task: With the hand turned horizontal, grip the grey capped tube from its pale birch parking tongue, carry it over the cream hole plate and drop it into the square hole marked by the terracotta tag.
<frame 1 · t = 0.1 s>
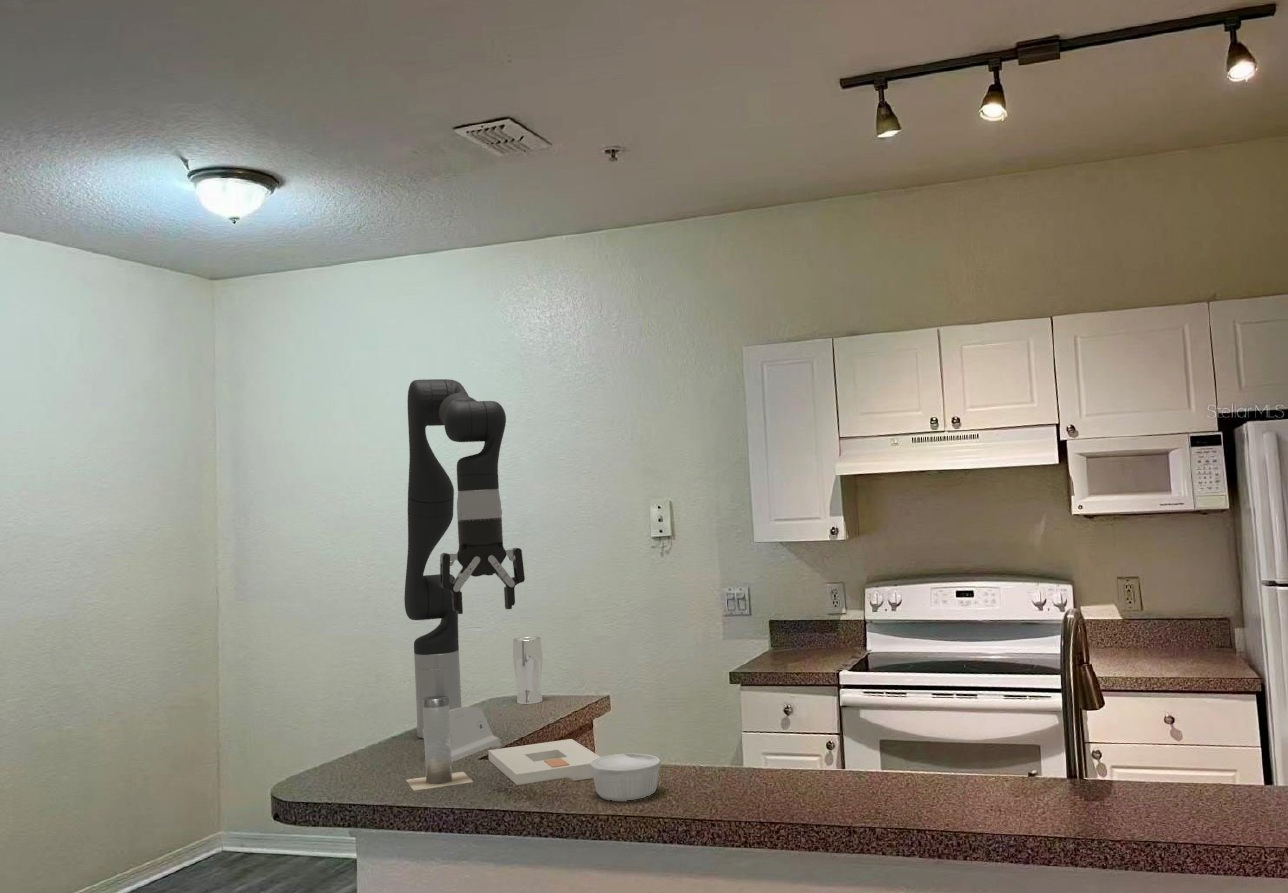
hand: (484, 611, 185), 29 cm above the counter, tool pointing down, fingers open, 8 cm apart
grey capped tube: (439, 780, 185), point 1 cm above the counter, touching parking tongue
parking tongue: (439, 785, 185), on the counter
hole plate: (546, 769, 192), on the counter
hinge: (461, 757, 206), on the counter
beer glass: (529, 702, 257), on the counter
ramekin: (627, 795, 174), on the counter
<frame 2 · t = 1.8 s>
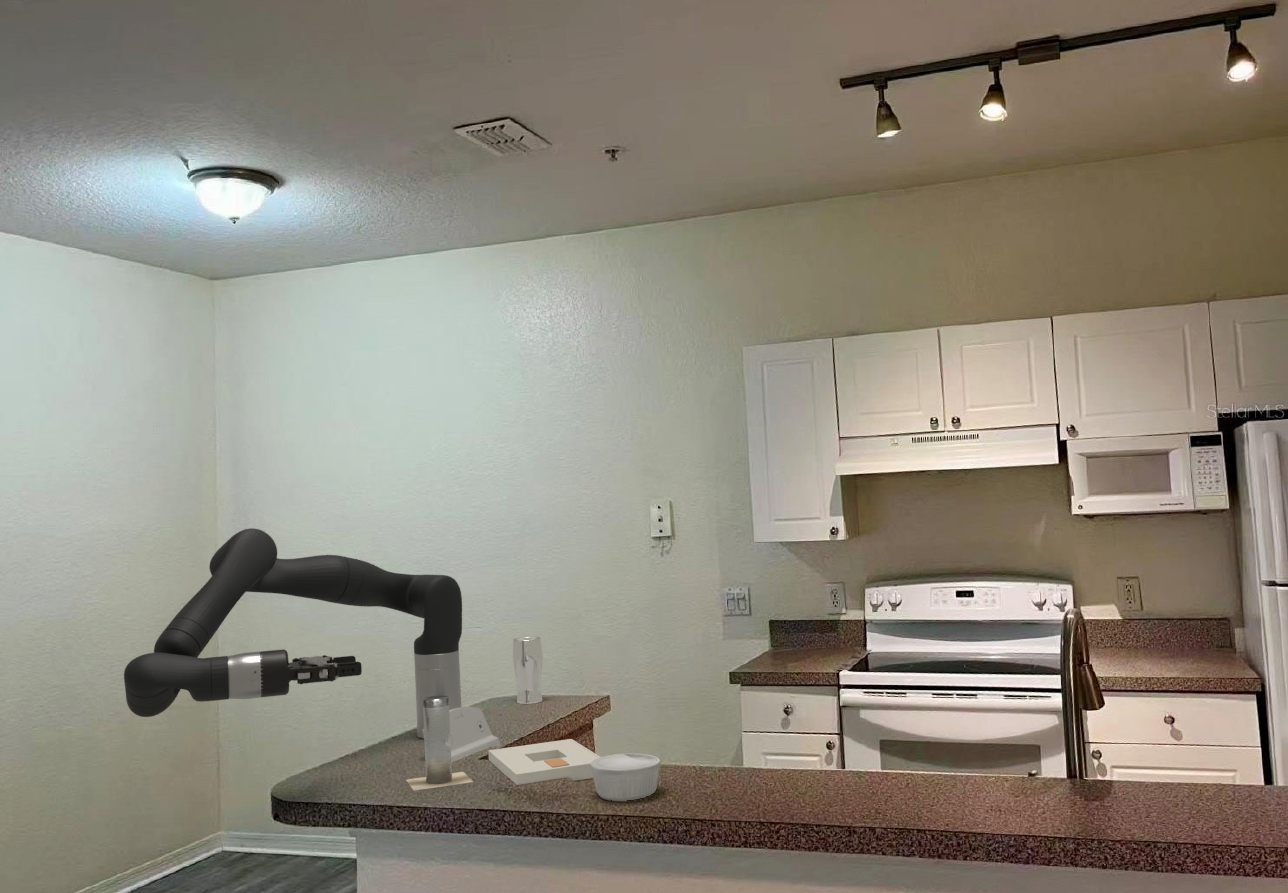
hand: (358, 665, 185), 21 cm above the counter, tool horizontal, fingers open, 8 cm apart
nothing on the counter moved.
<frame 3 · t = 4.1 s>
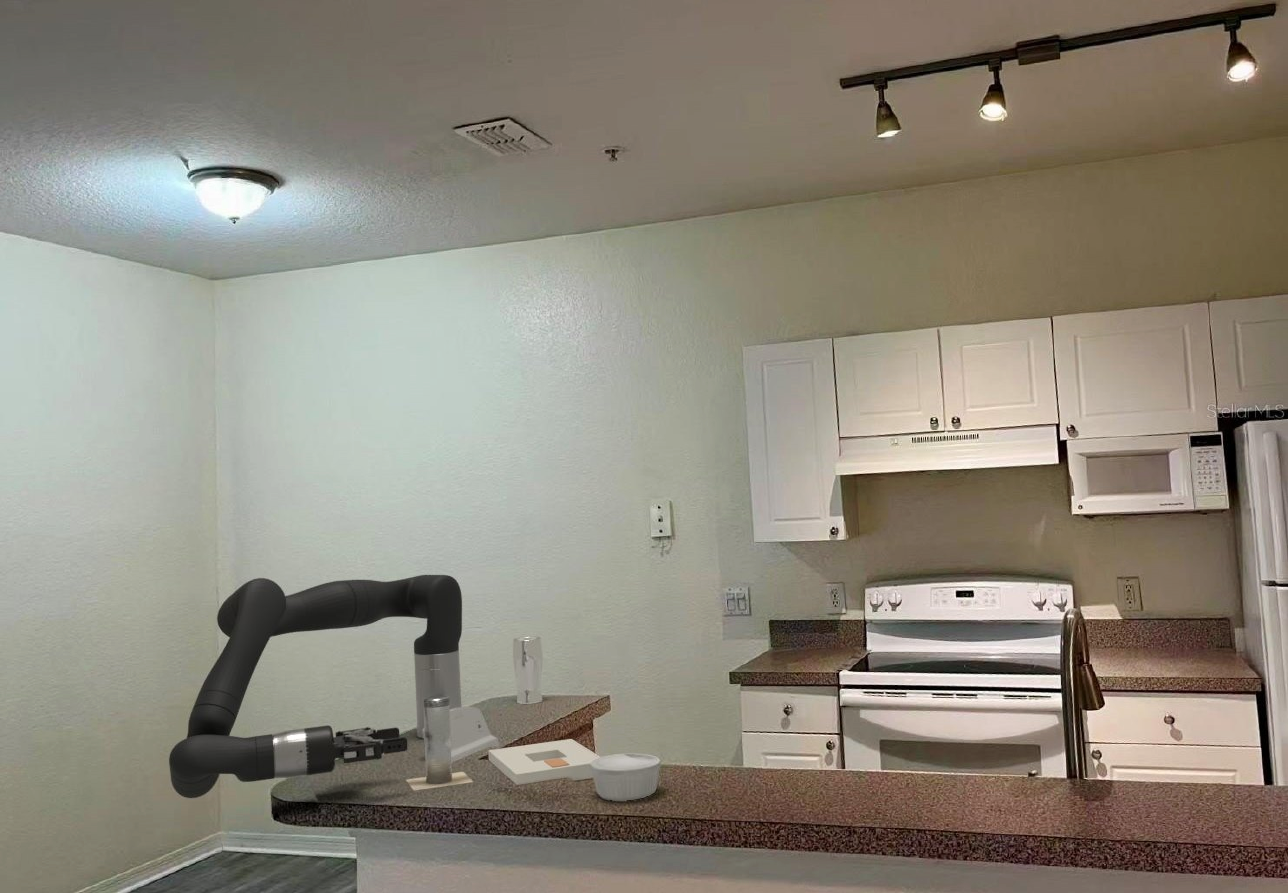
hand: (402, 738, 183), 9 cm above the counter, tool horizontal, fingers open, 8 cm apart
nothing on the counter moved.
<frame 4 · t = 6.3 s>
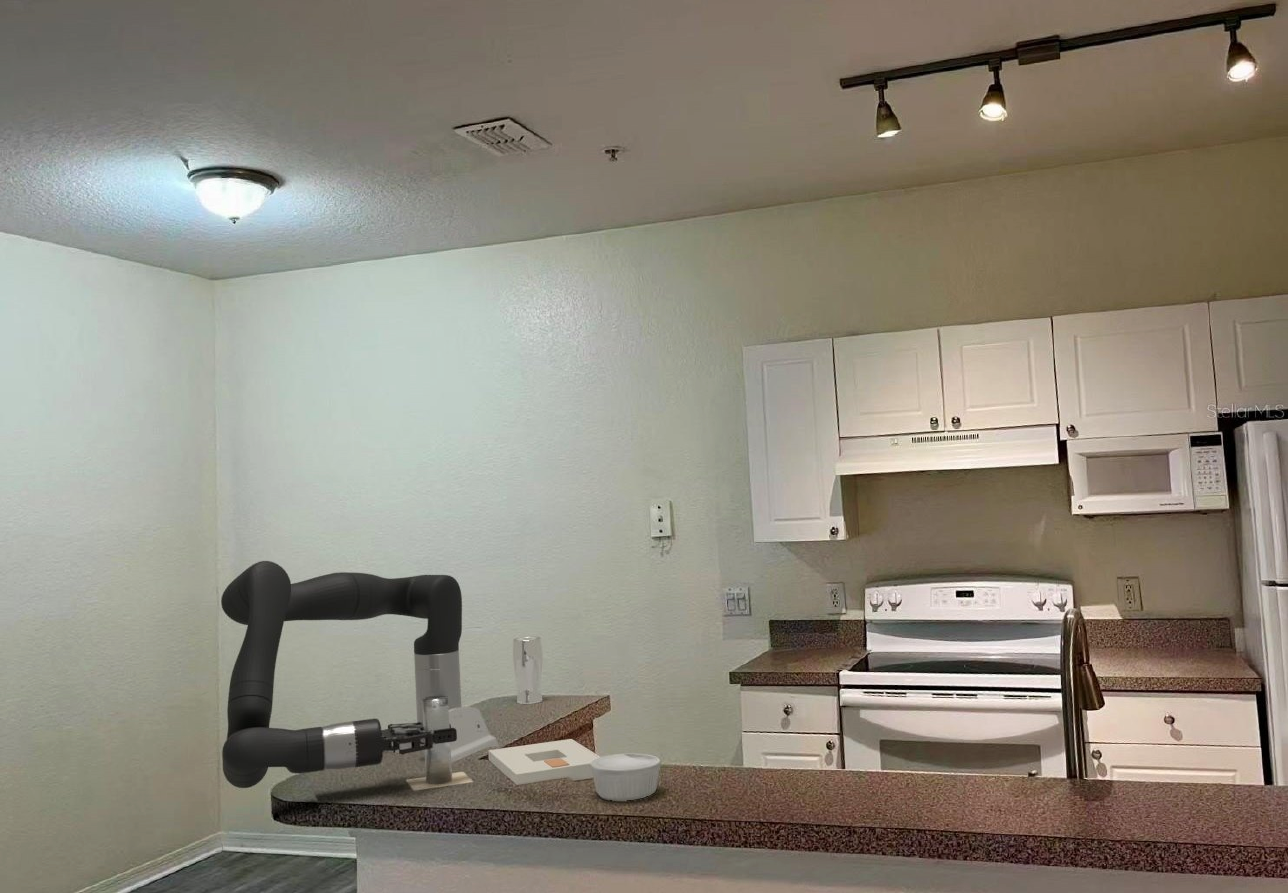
hand: (452, 731, 186), 9 cm above the counter, tool horizontal, fingers closed on grey capped tube, 4 cm apart
grey capped tube: (439, 780, 185), point 1 cm above the counter, touching gripper, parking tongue
everything else where it was.
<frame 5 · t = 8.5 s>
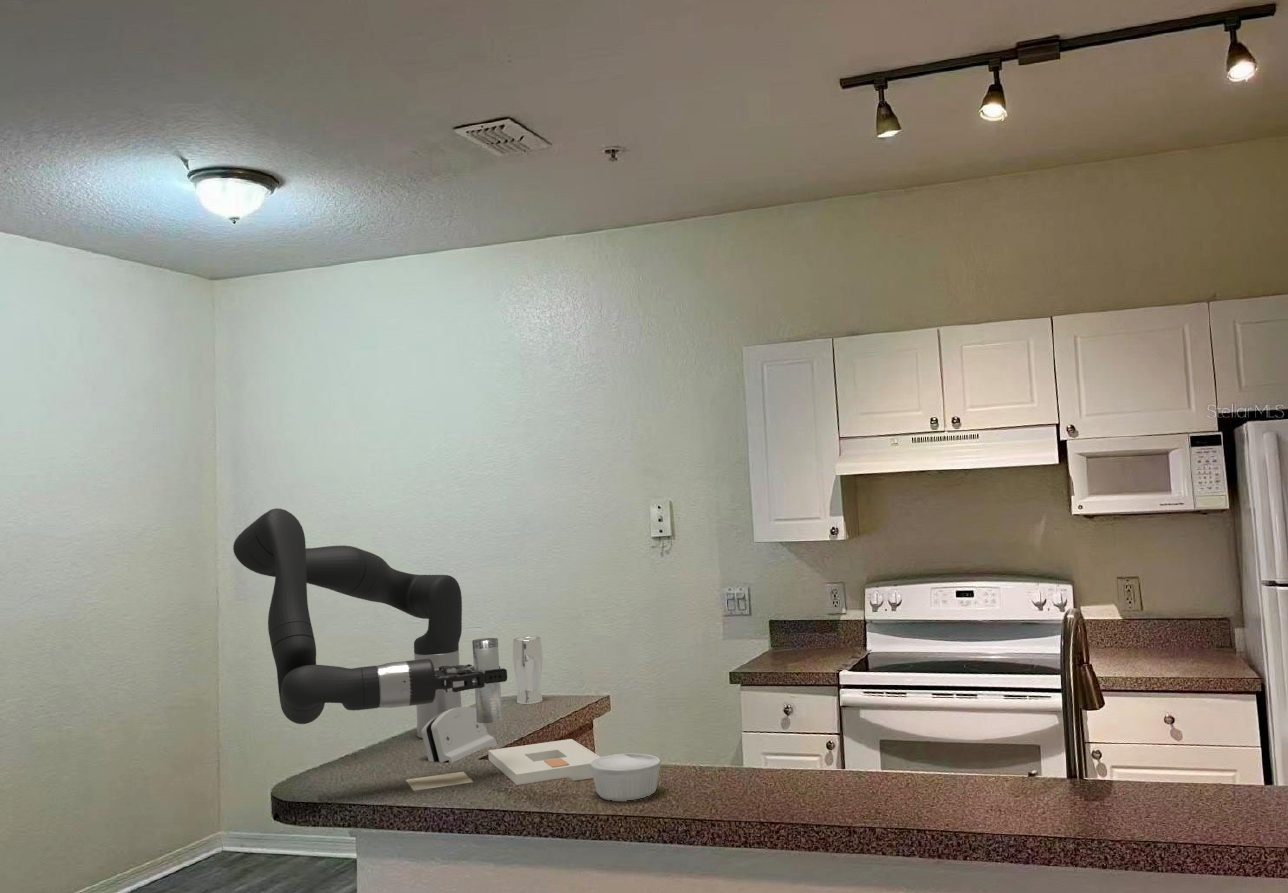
hand: (502, 672, 190), 18 cm above the counter, tool horizontal, fingers closed on grey capped tube, 4 cm apart
grey capped tube: (489, 720, 188), point 10 cm above the counter, touching gripper
everything else where it was.
when the fingers open (11 cm above the counter, at t = 11.2 s): grey capped tube drops 3 cm, resting in hole plate.
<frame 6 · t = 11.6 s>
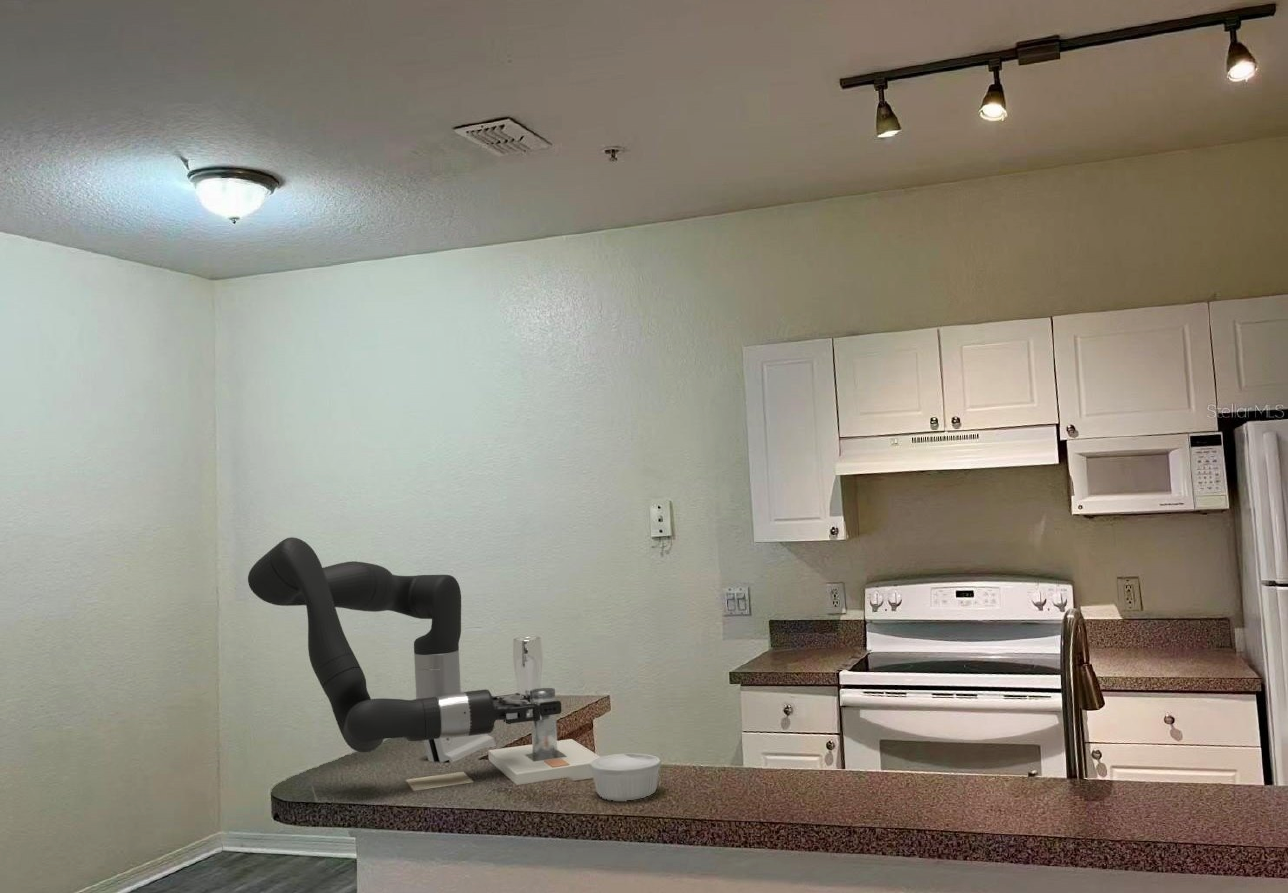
hand: (553, 703, 193), 12 cm above the counter, tool horizontal, fingers open, 8 cm apart
grey capped tube: (545, 770, 191), resting in hole plate
everything else where it was.
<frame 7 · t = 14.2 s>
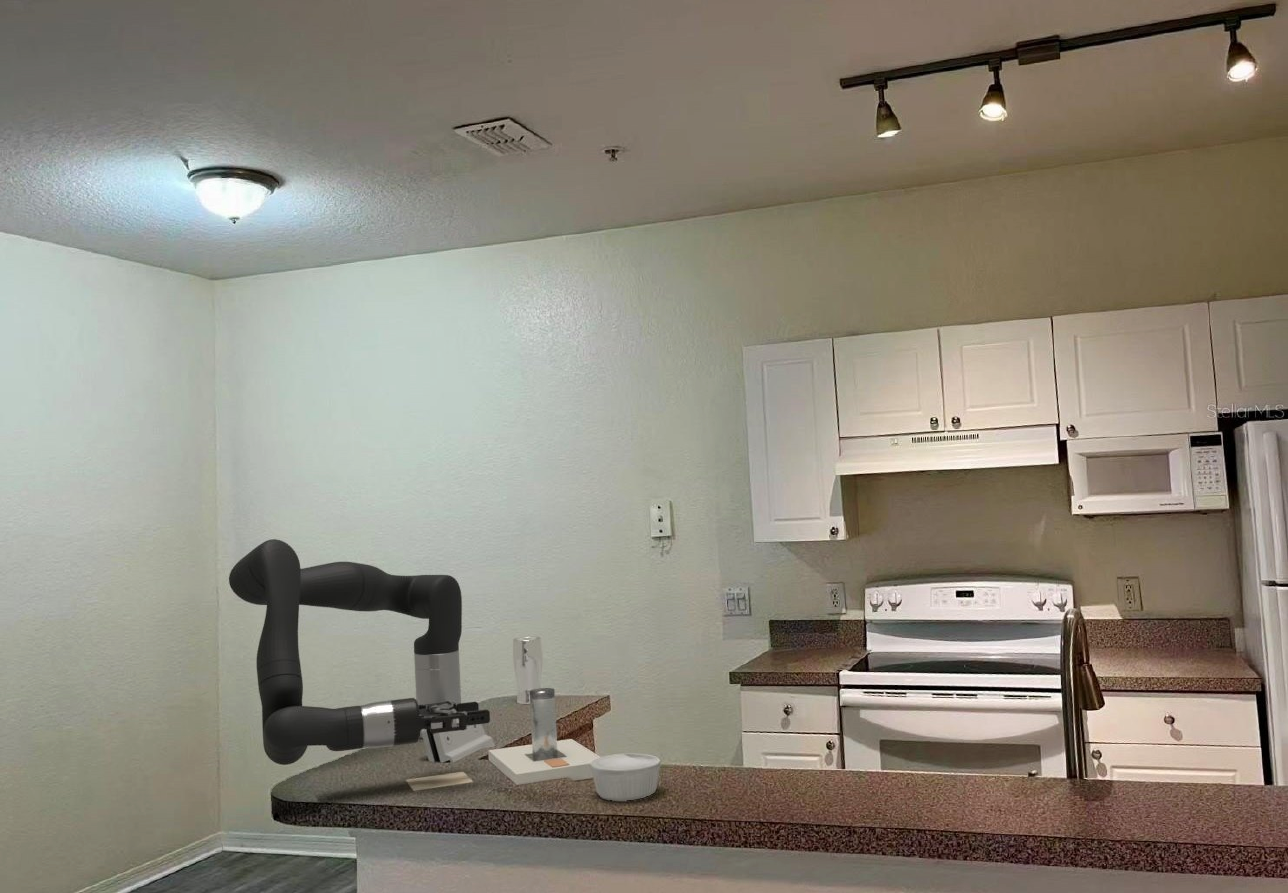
hand: (483, 711, 188), 12 cm above the counter, tool horizontal, fingers open, 8 cm apart
nothing on the counter moved.
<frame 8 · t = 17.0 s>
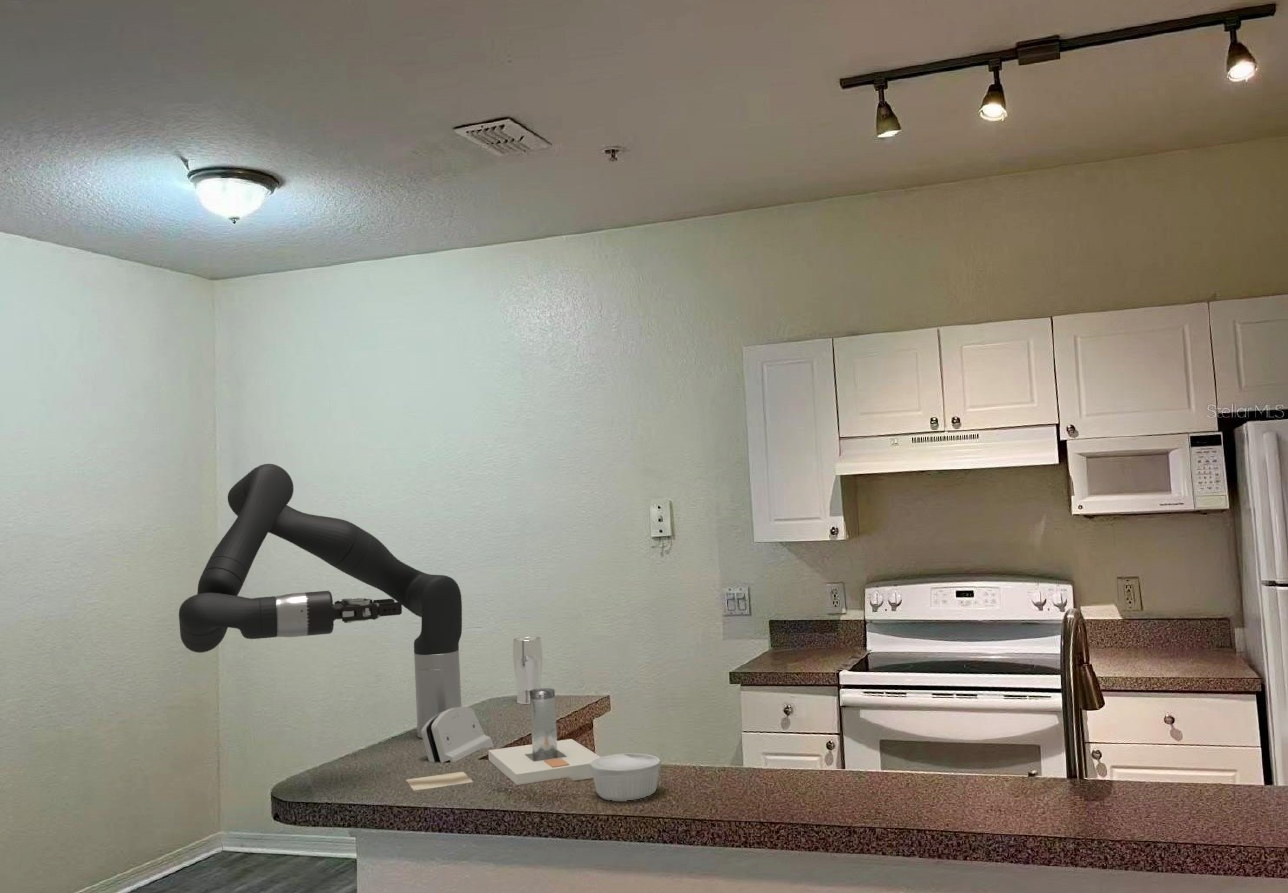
hand: (397, 606, 195), 30 cm above the counter, tool horizontal, fingers open, 8 cm apart
at the end: grey capped tube 0.1 cm off-centre on the hole plate, point 0.0 cm above the hole plate's base; grey capped tube tilted 0°; the gripper is holding nothing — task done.
